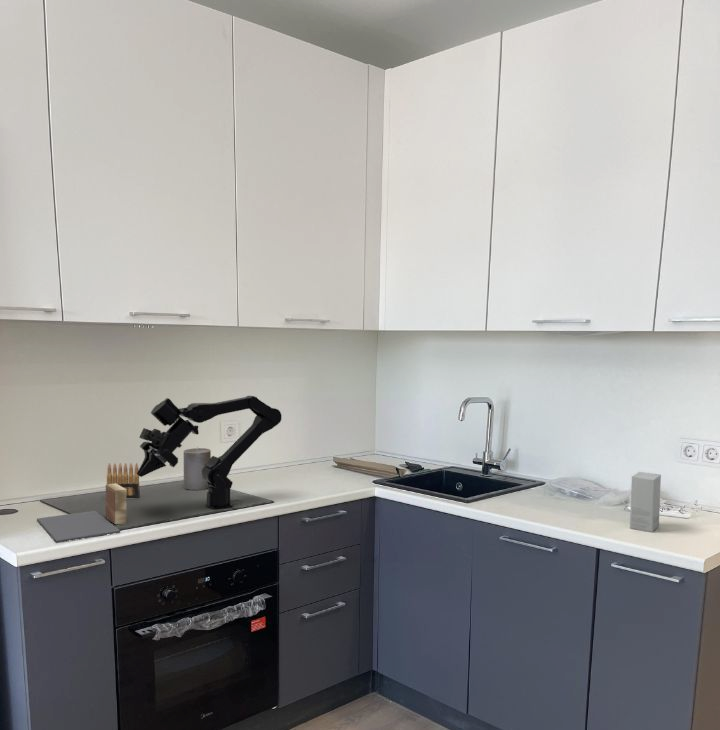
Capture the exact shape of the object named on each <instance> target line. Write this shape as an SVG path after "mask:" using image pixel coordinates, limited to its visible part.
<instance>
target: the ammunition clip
mask: <svg viewBox="0 0 720 730" xmlns="http://www.w3.org/2000/svg"><path fill="white" fill-rule="evenodd" d="M133 467H134V468H133ZM117 468H118V469H117ZM138 470H139V465H138V462H136V463H135V465H134V466H133V464H132V462H131V463H130V464H129V468H128V465H127V463H126V462H125V463H124V465H123V467H122V463H121V462H119V464H118V467H117V464H116V463H115V462H114V463H113V466H112V465H111V463H108V465H107V472H106V473H107V474H106V484H115V483H116V484H118V485H120V486H121V487H123V488H125V489H126V498H139V497H141V496H140V495H141V493H140V476H138V475H137V472H138ZM139 499H140V498H139Z"/></svg>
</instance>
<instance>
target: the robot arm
mask: <svg viewBox="0 0 720 730" xmlns="http://www.w3.org/2000/svg"><path fill="white" fill-rule="evenodd" d="M248 409H249V410H250V411H251V412H252V413H253V414H254V415H256V416H255V417H254V419H253V422H252V424H251V425H250V427H248V428H247V429H246V431H244V433H242V435H240V436H239V437H238V439H237V440H235V442H234V443H233V444H232V445H230V447H229V448H228V449H227V450H226V451H225V452H224V453H223V454H222V455H220V456H218V457H217V456H216V455H212V456H211V458H210V460H209V461H208V462H207V463H205V464H204V465H205V466H204V468H203V469H202V477H203V479H204V480H206V481H207V483H208V485H209V486H211V487H208V489H207V492H206V503H205V505H206V506H207V507H209V508H211V509H213V510H217V509H224V508H229V507H230V508H231V507H233V504H232V503H231V489H232V485H233V481H232V480H231V479H230V478H229V477H228V475H229V474H230V471H231V470H232V467H233V465H234V464H235V463H236V461H238V460H239V459H240V458H241V456H242V455H243V454H244V453H246V451H247V450H248V449H249V448H250V447H251V446H253V444H254V443H255V442H256V441H257V440H258V439H259V438H260V437H261V436H262V435H263V434H265V433H267V432H268V431H270V430H272V429H274V428H275V427H277V426H278V425H279V424H280V423H281V421H282V413H281V410H279V409H278V408H275V407H271V406H269V405H268V404H266V403H265V402H264V401H261V400H260V399H259V398H258V397H257V396H254V395H247V396H244V397H239V398H233V399H228V400H223V401H217V402H211V403H210V402H207V403H206V402H192V403H190V404H188V405H187V407H180V408H179V407H177V405H175V404H174V402H173V401H172V400H171V399H170V398H168V397H166V398H165V399H164V400H162V401H160V403H158V404H156V405H155V406H154V407H153V408H152V410H151V412H150V414H151V415H152V416H153V417H154V418H155V419H156V420H157V421H158V422H160V424H162V426H164V427H166V426H168V427H169V428H168V429H166V430H167V431H161V430H159V429H157V428H153V429H152V430H150V429H148V428H145V427H143V429H142V431H141V433H140V435H139V437H138V438H140V439H142V440H145V441H143V442H142V443H141V444H140V445H139V447H140V448H141V449H142V450H143V452H144V458H143V461H142V463H141V465H140V467H138V472H137V475H138V476H139V478H142V477H144V476H146V475H148V474H150V473H152V472H154V471H157V470H159V469H161V468H164V467H166V466H167V464H166V463H168V464H169V466H170V467H171V468H175V467H176V465H177V464H178V463H179V457H177V456H176V455H175V454H174V452H175V450H176V449H177V448H178V449H180V448H181V447H183V445H182V443H183V441H184V440H186V438H188V437H189V435H190V434H191V433H192V434H193V435H199V425H194V424H193V423H192V422H194V423H197V424H201V423H203V422H204V423H205V422H206V421H207V422H208V420H212V419H213V418H215V417H217V416H221V415H224V414H229V413H235V412H239V411H240V412H241V411H243V410H248ZM184 418H186V420H185V419H184Z"/></svg>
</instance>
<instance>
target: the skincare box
mask: <svg viewBox="0 0 720 730" xmlns="http://www.w3.org/2000/svg"><path fill="white" fill-rule="evenodd" d="M661 480H662V475H661V474H660V473H659V474H657V473H650V472H643V471H638V472H637V473H635V474H633V475H632V476H631V487H630V489H631V490H630V514H629V515H630V516H629V529H631V530H636V531H642V532H647V533H654V531H656V530H657V529H658V528H659V527H660V506H661V505H660V504H661V503H660V502H661V483H662V482H661Z"/></svg>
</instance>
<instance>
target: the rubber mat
mask: <svg viewBox="0 0 720 730" xmlns="http://www.w3.org/2000/svg"><path fill="white" fill-rule="evenodd" d="M36 521H37V522H38V524H40V526H41V527H42V528H43V529H44V531H46V533H47V534H48V535H49V536H50V537H51V539H52V540H53V541H54V542H55V543H56V544H57V543H64V541H66V542H70V541H69V540H72V541H76V540H75V539H79V540H83V539H82V538H85V539H88V538H89V539H90V537H91V538H97V537H102V536H101V535H103V536H107V534H110V535H113V534H112V533H116V534H120V533H121V529H119V528H118V527H117V526H115V525H114V524H113V523H111V522H110V521H109V520H108V519H106V517H105V516H102V515H101V514H100V513H98V512H97V511H96V510H90V511H83V512H75V513H67V514H62V515H61V514H60V515H54V516H46V517H45V516H44V517H39V518H36ZM119 532H120V533H119ZM96 536H97V537H96Z"/></svg>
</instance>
